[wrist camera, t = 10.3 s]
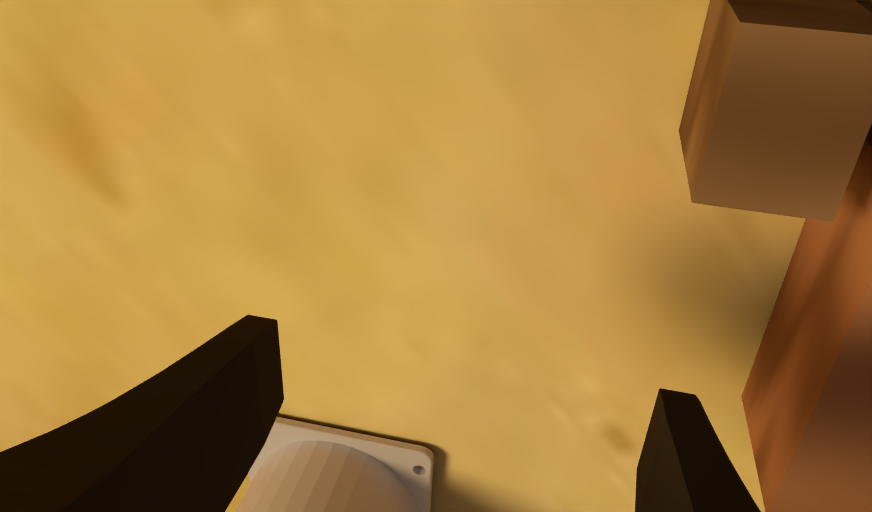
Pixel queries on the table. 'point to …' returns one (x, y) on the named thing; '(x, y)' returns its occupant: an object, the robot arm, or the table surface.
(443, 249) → the table surface
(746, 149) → the board
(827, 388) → the brown boxy piece
